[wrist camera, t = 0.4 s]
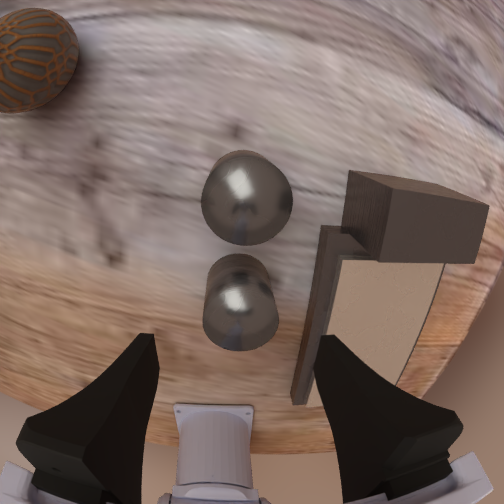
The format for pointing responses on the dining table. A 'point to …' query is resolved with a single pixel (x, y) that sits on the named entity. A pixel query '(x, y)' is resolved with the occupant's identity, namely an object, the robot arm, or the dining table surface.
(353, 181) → the scale
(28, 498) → the robot arm
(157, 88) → the dining table surface
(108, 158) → the dining table surface
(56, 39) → the brown egg-shaped piece
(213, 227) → the ball
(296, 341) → the dining table surface
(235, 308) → the cylinder
